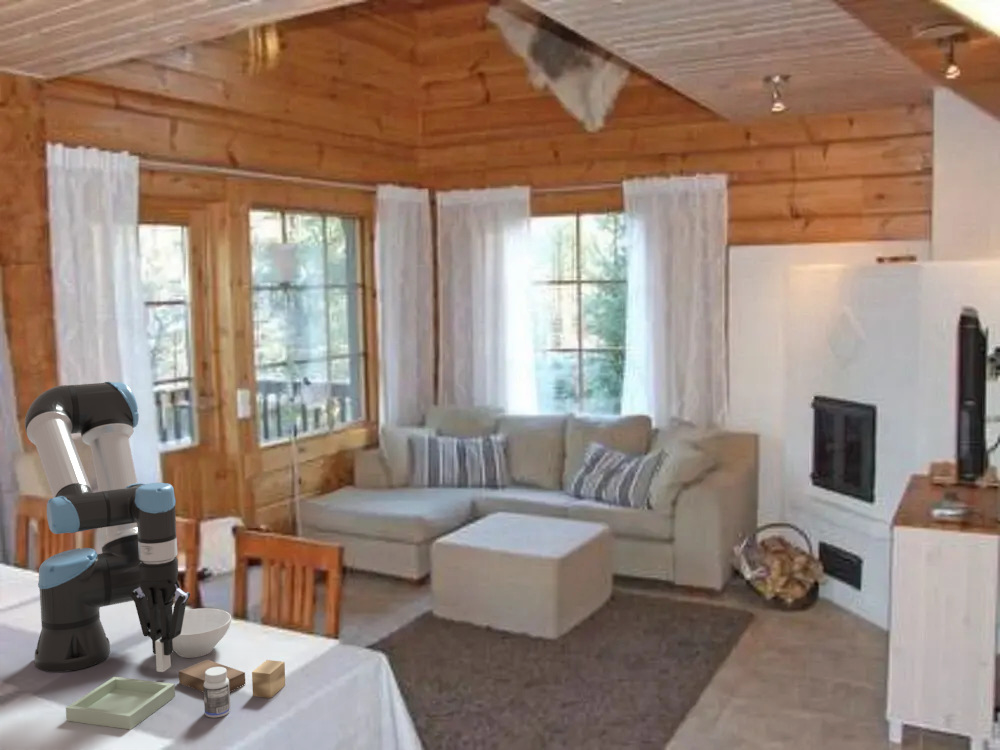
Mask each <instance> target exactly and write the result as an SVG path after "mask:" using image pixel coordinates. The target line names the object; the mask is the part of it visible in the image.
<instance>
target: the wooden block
mask: <svg viewBox="0 0 1000 750" xmlns="http://www.w3.org/2000/svg"><path fill="white" fill-rule="evenodd" d="M285 668H286V667H285V661H281V660H271V659H266V660H265V661H263V662H262V663H261V664H259V666H257V667H256V668H255V669H254V670H253V671H252V672H251V683H252V684H251V685H252V697H259V698H268V699H272V698H273V697H274V696H275V695H276V694H278V693H279V691H280V690H283V688H284V687H285V686H286V672H285V671H286V669H285Z"/></svg>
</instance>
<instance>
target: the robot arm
mask: <svg viewBox="0 0 1000 750" xmlns="http://www.w3.org/2000/svg"><path fill="white" fill-rule="evenodd" d="M138 409H139V408H138V403H137V400H136V397H135V394H134V392H133V390H132V389H131V387H130V386H129V385H127V384H126V383H125V382H122V381H121V382H120V381H119V382H118V381H117V382H116V381H115V382H111V381H104V382H99V383H83V384H70V385H66V384H65V385H57V386H54V387H51V388H48V389H47V390H45V391H43V392H42V393H41V394H40V395H38V396H37V397H36V398H35V399H34V400H33V402H32V403H31V404H30V406H29V408H28V409H27V411H26V414H25V418H24V429H25V433H26V436H27V439H28V441H30V442H31V443H32V444H34V446H35V447H36V451H37V453H38V457H39V460H40V462H41V466H42V468H43V471H44V474H45V477H46V480H47V483H48V486H49V489H50V492H51V495H52V498H49V499H48V501H47V503H46V519H47V523H48V528H49V531H50V532H51V533H52V534H55V535H60V534H68V533H69V534H75V533H78V532H84V531H90V530H97V529H102V528H105V533H106V541H105V542H104V543H103V544H102V545H101V552H102V553H98V552H96V550H95V549H94V548H91V547H83V548H73V549H68V550H65V551H62V552H59V553H56V554H54V555H52V556H49V557H48V558H47V559H45V560H44V561H43V562H42V563H41V565H40V566H39V568H38V583H37V586H38V588H39V601H40V603H39V604H40V622H41V631H40V633H39V638H38V641H37V643H36V644H37V645H36V649H35V651H34V665H35V667H36V668H37V669H39V670H40V671H43V672H50V673H51V672H55V673H61V672H64V673H65V672H71V671H77V670H82V669H85V668H89V667H92V666H95V665H97V664H99V663H101V662H103V661H105V660H106V659H107V658H108V657H109V656H110V654H111V644H110V640H109V638H108V637H107V634H106V631H105V629H104V627H103V624H102V622H101V615H100V608H103V607H108V606H113V605H118V604H122V603H128V602H134V603H135V604H134V605H135V609H136V613H137V617H138V619H139V623H140V624H139V625H140V628H141V631H142V635H143V636H144V637H148V638H150V639H151V641H152V653H153V655H155V663H156V665H155V666H156V672H159V673H164V672H165V671H167V670H168V669H169V668H171V667H172V665H171V664H172V663H171V654H173V652H174V650H173V642H172V639H174V638H175V637H177V636H178V635H180V634H181V630H182V624H183V618H184V613H185V610H186V606H187V603H188V601H189V599H190V597H191V593H190V592H189V591H184V590H182V589H181V588H180V584H179V582H178V577H179V576H178V575H179V564H178V563H179V560H178V558H177V556H178V539H177V538H178V536H177V522H176V519H177V517H176V503H177V500H176V496H175V489H174V486H173V485H172V484H171V483H165V482H150V483H143V482H141V483H139V482H138V481H137V480H138V479H137V474H136V470H135V466H134V461H133V455H132V450H131V445H130V440H129V439H130V438H131V436H132V435H133V433H134V428H136V427H137V426H138V425H139V417H140V415H139V412H138ZM72 434H80V435H81V441H82V442H83V443H84V444H85V445H87V446H89V447H90V450H91V452H90V453H91V456H92V462H93V468H94V473H95V474H94V475H95V478H96V484H97V490H98V491H94V492H93V489H92V485H91V484H90V481H89V478H88V476H87V474H86V470H85V467H84V465H83V463H82V460H81V458H80V455H79V451H78V449H77V446H76V444H75V441H74V439H73V435H72ZM174 601H175V602H174ZM173 605H174V606H173Z"/></svg>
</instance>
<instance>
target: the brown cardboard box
mask: <svg viewBox="0 0 1000 750" xmlns="http://www.w3.org/2000/svg"><path fill="white" fill-rule="evenodd" d="M212 667H224V668H226V670H227V678H228V679H229V690H230V691H231V692H233V691H235V690H237V689H238V688H237V687H239V688H241V687H243V686H245V685H246V672H244V671H241V670H239V669H236V668H233V667H230V666H228V665H224V664H221V663H218V662H215V661H212V660H209V659H207V658H206V659H205V660H202V661H200V662H198V663H195V664H192V665H190V666H188V667H186V668H183V669H180V670H178V678H179V679H178V681H179V684H181V685H183V686H185V687H188V688H190V689H194V690H196V689H197V690H196V691H199V690H200V691H199V692H202V691H203V692H202V693H204V682H205V681H206V680H205V671H206V670H208V669H209V668H212ZM244 684H245V685H244ZM242 685H243V686H242ZM240 686H241V687H240ZM236 688H237V689H236ZM234 689H235V690H234ZM232 690H233V691H232Z"/></svg>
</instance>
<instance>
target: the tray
mask: <svg viewBox="0 0 1000 750" xmlns="http://www.w3.org/2000/svg"><path fill="white" fill-rule="evenodd" d="M175 686H176V684H175V683H170V682H161V681H153V680H144V679H136V678H129V677H127V678H126V677H120V676H113V677H111V678H110V679H109V680H107V681H105V682H104V683H102V684H101V685H99V686H97V687H95V688H94V689H93V690H91V691H90V692H88V693H86V694H85V695H83V696H82V697H80V698H78V699H77V700H75V701H74V702H72V703H71V704H70V705H68V706H65V715H66V716H65V717H66V722H74V723H81V724H88V725H93V726H102V727H109V728H117V729H123V730H132V729H133V728H135V727H136V726H137V725H139V724H140V723H141V722H143V721H144V720H146V719H147V718H148V717H150V716H151V715H152V714H154V713H155V712H156V711H158V710H160V708H162V707H163V706H165V704H167V703H168V702H170V701H171V700H173V699H174V698H175V697H176V687H175Z"/></svg>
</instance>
